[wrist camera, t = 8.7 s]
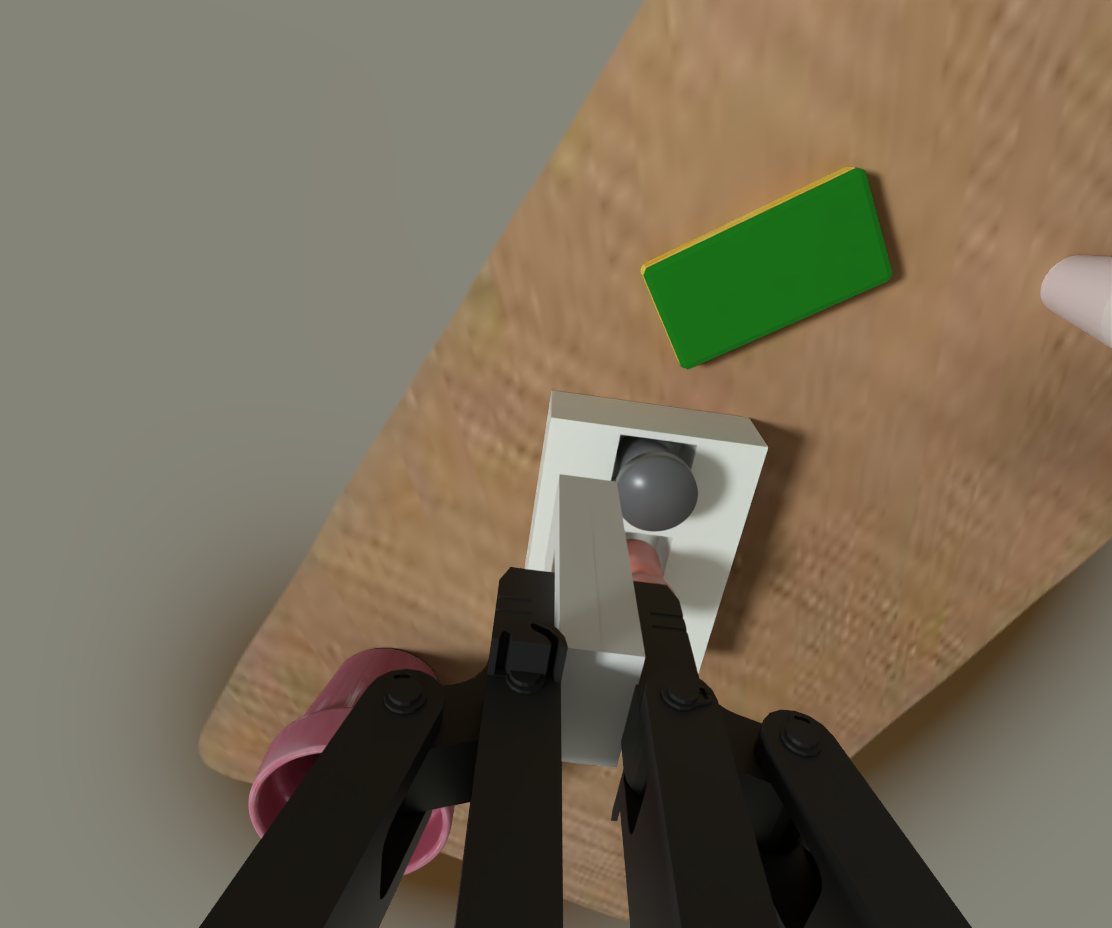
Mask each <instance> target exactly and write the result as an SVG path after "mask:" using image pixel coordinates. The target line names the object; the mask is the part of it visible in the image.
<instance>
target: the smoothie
mask: <svg viewBox="0 0 1112 928" xmlns="http://www.w3.org/2000/svg"><path fill="white" fill-rule="evenodd" d="M1040 294H1041V300H1042V302H1043V304H1044V305H1045V307H1046V308H1048V309H1049V310H1051V311H1052V312H1054V313H1055V314H1057V315H1059V316H1060V317H1062V318H1063V319H1065V320H1067V321H1068V322H1070V323H1071V324H1073V325H1075V326H1076V327H1078V328H1079V329H1081V330H1083V331H1084V332H1086V333H1087V334H1089V335H1091V336H1092V337H1094V338H1095V339H1097V340H1099V341H1100V342H1102V343H1104V344H1105V345H1107V346H1108V347H1110V348H1112V257H1109V256H1092V255H1074V256H1070V257H1067V258H1065V259H1063V260H1061V261H1060V262H1058V263H1057V264H1056V265H1054V266H1053V267H1052V268H1051V269H1050V271H1049V272H1048V273H1047V275H1046V276H1045V278H1044V280H1043V282H1042V285H1041V293H1040Z"/></svg>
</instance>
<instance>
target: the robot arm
mask: <svg viewBox="0 0 1112 928" xmlns="http://www.w3.org/2000/svg"><path fill="white" fill-rule="evenodd" d="M686 631H687V628H686V624H685V620H684V619H683V613H682V609H681V605H680V601H679V599H678V598H677V597H676V596H675V594H674V593H673V592H672V591H671V589H670V588H669V587H668V586H667V585H664V584H656V583H648V582H640V581H633V578H632V572H631V566H630V560H629V554H628V548H627V542H626V535H625V529H624V523H623V517H622V511H621V505H620V499H619V493H618V487H617V482H616V481H608V480H600V479H593V478H585V477H578V476H570V475H563V474H559V479H558V485H557V491H556V497H555V503H554V509H553V515H552V521H551V527H550V533H549V539H548V545H547V551H546V557H545V568H544V571H538V570H530V569H522V568H514V567H510V568H509V570H508V571H507V572H506V573H505V574H504V575H503V576H502V577H501V579H500V580H499V587H498V595H497V602H496V610H495V617H494V625H493V632H492V640H491V647H490V655H489V660H488V663H487V665H486V667H485V668H484V669H483V671H482V672H481V673H479V674H478V675H477V676H476V677H474V678H472V679H470V680H468V681H466V682H462V683H458V684H454V685H447V686H442V685H441V684H440V683H439V682H438V681H437V680H436V679H435V678H434V677H433V676H431V675H429V674H427V673H425V672H423V671H419V670H412V669H401V670H393V671H390V672H388V673H385V674H383V675H381V676H379V677H377V678H376V679H375V680H374V681H373V682H372V683H371V684H370V685H369V686H368V687H367V689H366V690H365V692H364V693H363V694H362V696H361V697H360V699H359V700H358V701H357V703H356V704H355V706H354V707H353V709H352V710H351V711H350V713H349V714H348V716H347V717H346V719H345V720H344V721H343V723H342V724H341V726H340V727H339V729H338V730H337V731H336V733H335V734H334V736H333V737H332V739H331V740H330V741H329V743H328V744H327V746H326V747H325V749H324V750H323V751H322V753H321V754H320V756H319V757H318V759H317V760H316V761H315V763H314V764H313V766H312V767H311V769H310V770H309V771H308V773H307V774H306V776H305V777H304V779H303V780H302V781H301V783H300V784H299V786H298V787H297V789H296V790H295V791H294V793H293V794H292V796H291V797H290V799H289V800H288V801H287V803H286V804H285V806H284V807H283V808H282V810H281V811H280V813H279V814H278V816H277V817H276V818H275V820H274V821H273V823H272V824H271V826H270V827H269V828H268V830H267V831H266V833H265V834H264V836H263V837H262V838H261V840H260V841H259V843H258V844H257V846H256V847H255V849H254V850H253V851H252V853H251V854H250V856H249V857H248V858H247V860H246V861H245V863H244V864H243V866H242V867H241V868H240V870H239V871H238V873H237V874H236V876H235V877H234V878H233V880H232V881H231V883H230V884H229V886H228V887H227V888H226V890H225V891H224V893H223V894H222V896H221V897H220V898H219V900H218V901H217V903H216V904H215V906H214V907H213V908H212V910H211V911H210V913H209V914H208V916H207V917H206V918H205V920H204V921H203V923H202V924H201V926H200V927H199V928H379V926H380V924H381V922H382V919H383V917H384V915H385V913H386V910H387V909H388V907H389V905H390V902H391V900H392V898H393V896H394V893H395V892H396V890H397V887H398V885H399V883H400V881H401V879H402V877H403V875H404V873H405V870H406V868H407V866H408V864H409V862H410V860H411V858H412V855H413V853H414V851H415V849H416V847H417V845H418V843H419V840H420V838H421V836H422V834H423V832H424V830H425V828H426V825H427V823H428V821H429V819H430V817H431V814H432V810H434V809H438V808H443V807H448V806H453V805H458V804H462V803H467V802H470V808H469V816H468V824H467V831H466V839H465V847H464V855H463V863H462V871H461V879H460V887H459V894H458V902H457V910H456V918H455V925H454V928H563V866H562V762H572V763H581V764H591V765H600V766H609V767H617V764H618V760H619V756H620V752H621V748H622V757H623V767H624V769H623V773H622V777H621V780H620V784H619V788H618V792H617V795H616V799H615V803H614V806H613V811H612V818H611V820H612V821H617V819H618V816H619V812H620V814H621V825H622V837H623V848H624V860H625V871H626V882H627V894H628V905H629V917H630V928H972V927H971V926H970V924H969V923H968V922H967V920H966V919H965V918H964V916H963V915H962V913H961V912H960V911H959V909H958V908H957V906H956V905H955V904H954V902H953V901H952V900H951V898H950V897H949V895H948V894H947V893H946V891H945V890H944V888H943V887H942V886H941V885H940V883H939V882H938V880H937V879H936V877H935V876H934V875H933V873H932V872H931V871H930V869H929V868H928V866H927V865H926V864H925V862H924V861H923V859H922V858H921V857H920V855H919V854H918V852H917V851H916V850H915V848H914V847H913V846H912V844H911V843H910V841H909V840H908V839H907V837H906V836H905V835H904V833H903V832H902V830H901V829H900V828H899V826H898V825H897V824H896V822H895V821H894V819H893V818H892V817H891V815H890V814H889V812H888V811H887V810H886V808H885V807H884V805H883V804H882V803H881V801H880V800H879V799H878V797H877V796H876V794H875V793H874V792H873V790H872V789H871V788H870V786H869V785H868V783H867V782H866V780H865V779H864V778H863V776H862V775H861V774H860V772H859V771H858V770H857V768H856V767H855V765H854V764H853V763H852V761H851V760H850V758H849V757H848V756H847V754H846V753H845V751H844V750H843V749H842V747H841V746H840V744H839V743H838V742H837V740H836V739H835V738H834V736H833V735H832V734H831V733H830V732H829V731H828V730H827V729H826V728H825V727H824V726H823V725H822V724H821V723H819V722H818V721H816V720H814V719H813V718H811V717H810V716H808V715H805V714H802V713H799V712H796V711H790V710H778V711H775V712H771V713H769V715H768V716H767V717H766V718H765V719H764V720H763V722H762V723H759V722H756V721H754V720H751V719H748V718H746V717H743V716H740V715H737V714H735V713H733V712H731V711H729V710H727V709H725V708H724V707H722V706H721V705H719V704H718V700H717V698H716V696H715V694H714V692H713V691H712V689H711V688H710V687H709V686H708V685H707V684H706V683H704V682H703V681H702V680H701V679H699V675H698V671H697V667H696V663H695V660H694V656H693V652H692V648H691V644H690V640H689V636H688V633H687V632H686Z"/></svg>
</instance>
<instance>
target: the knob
mask: <svg viewBox="0 0 1112 928" xmlns="http://www.w3.org/2000/svg"><path fill="white" fill-rule="evenodd" d="M617 462H618V468H619V473H618V476H617V478H616V482H617V487H618V493H619V499H620V505H621V511H622V517H623V518H624V519H625V520H626V521H627V522H628V523H629V524H631V525H632V526H634V527H636V528H638V529H641V530H645V531H652V532H657V531H665V530H668V529H671V528H674V527H676V526H678V525H679V524H681V523H682V522H684V521H685V520H686V519H687V518H688V517H689V516H690V515H691V513H692V512H693V510H694V508H695V506H696V503H697V499H698V488H697V484H696V481H695V479H694V476H693V474H692V471H691V469H690V468H689V466H688V465H687V464H686V463H685V462H684V461H683V460H682V459H681V458H679V457H678V456H677V453H676V451H675V448H674V445H673V443H672V441H665V440H658V439H650V438H643V437H636V436H628V435H627V436H626V437H625V438H624V439H623V440H622V441H621V443H620V445H619V447H618V450H617Z"/></svg>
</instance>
